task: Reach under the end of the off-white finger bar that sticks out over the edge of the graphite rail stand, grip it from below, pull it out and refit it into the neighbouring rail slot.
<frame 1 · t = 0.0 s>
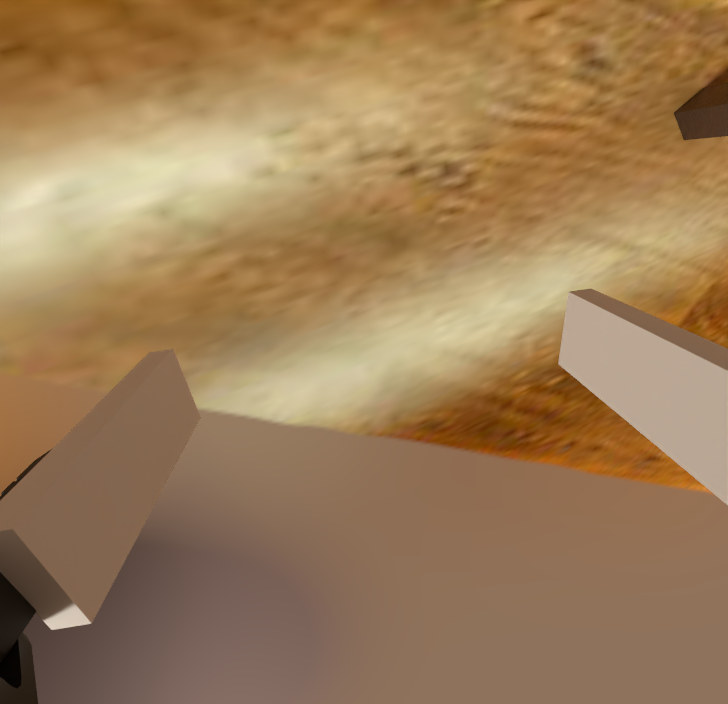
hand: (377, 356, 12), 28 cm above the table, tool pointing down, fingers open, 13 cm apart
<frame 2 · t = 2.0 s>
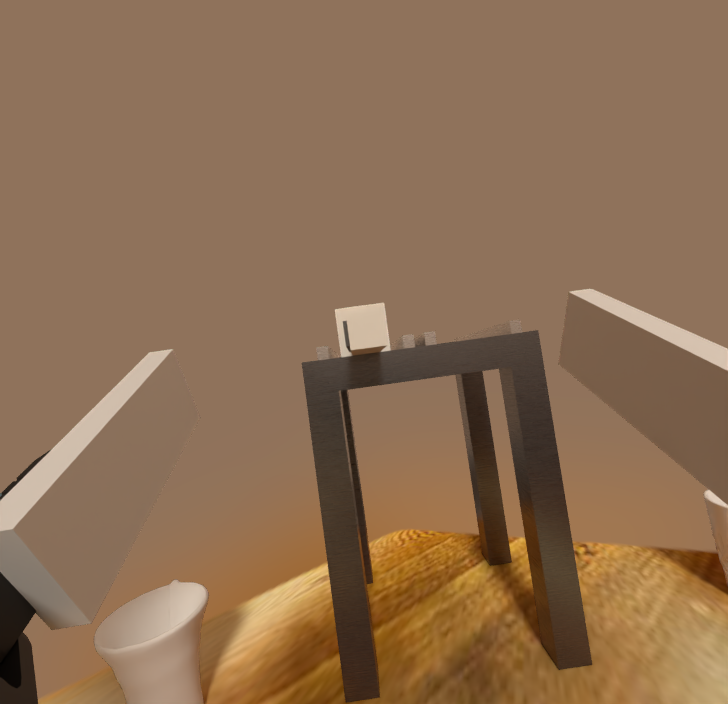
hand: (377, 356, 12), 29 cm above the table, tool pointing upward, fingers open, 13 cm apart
rail stand: (443, 608, 42), on the table
finger bar: (366, 355, 36), point 30 cm above the table, touching rail stand
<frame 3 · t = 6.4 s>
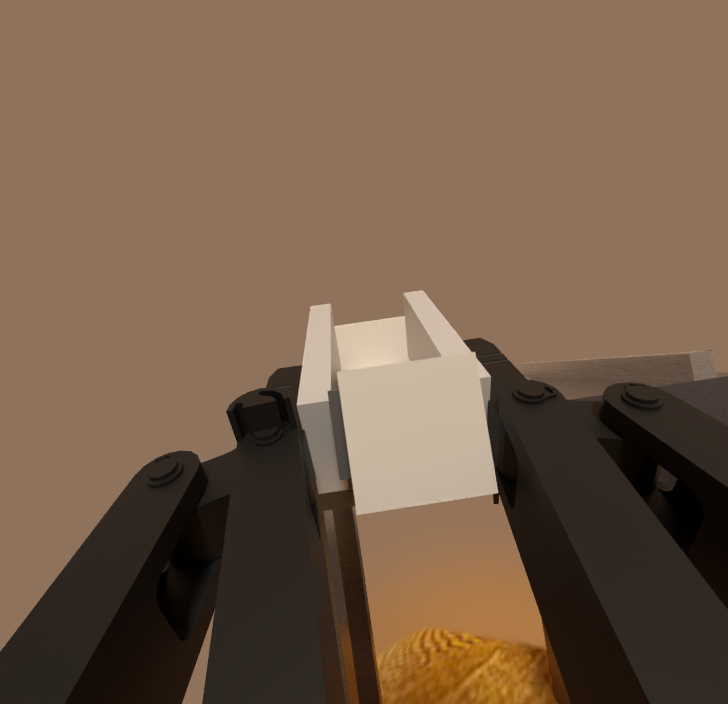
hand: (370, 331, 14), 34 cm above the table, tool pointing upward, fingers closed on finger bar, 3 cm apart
finger bar: (382, 418, 18), point 30 cm above the table, touching gripper, rail stand
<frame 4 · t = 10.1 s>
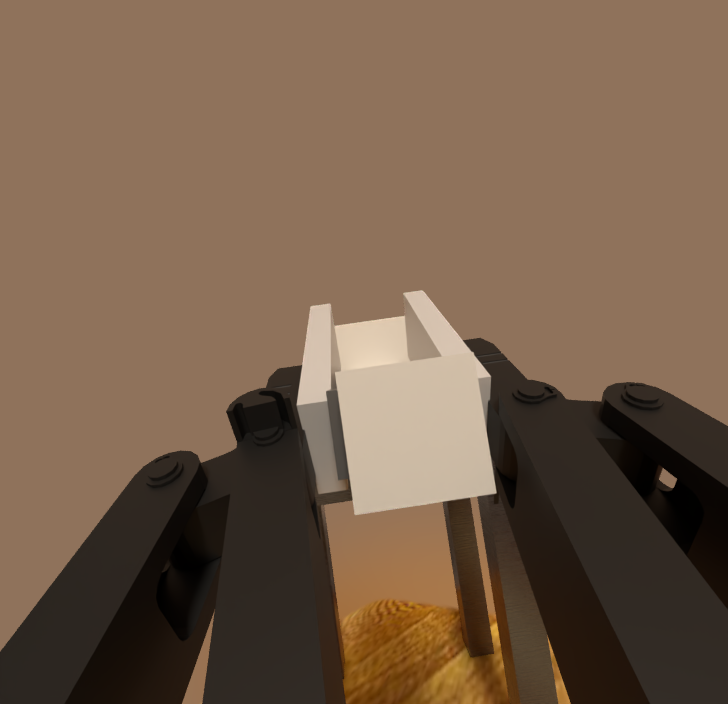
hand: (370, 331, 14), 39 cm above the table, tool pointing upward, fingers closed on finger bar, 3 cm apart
finger bar: (382, 418, 18), point 35 cm above the table, touching gripper
when the fingers open (35 cm above the table, at t = 14.2 s): finger bar drops 1 cm, resting on rail stand.
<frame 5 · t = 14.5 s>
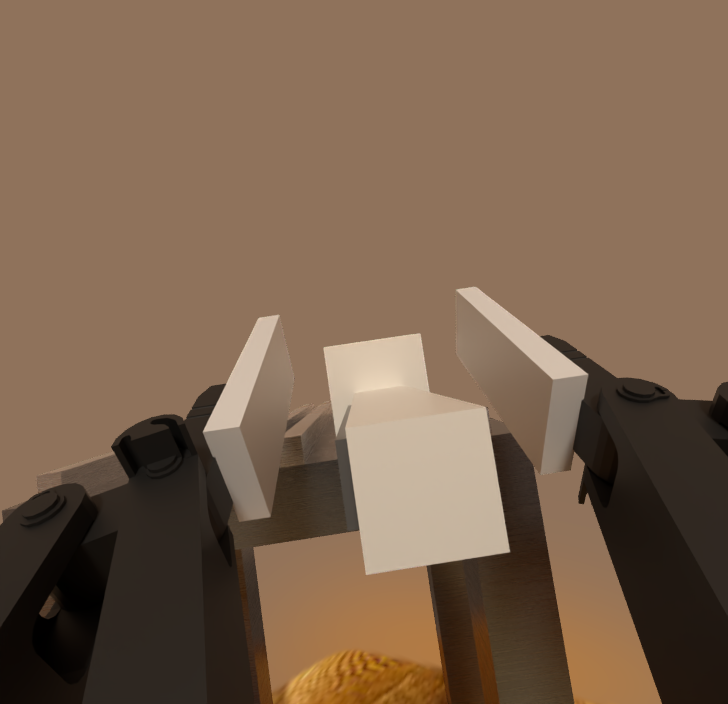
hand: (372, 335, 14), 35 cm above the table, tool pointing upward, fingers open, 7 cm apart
finger bar: (386, 438, 18), point 30 cm above the table, touching rail stand
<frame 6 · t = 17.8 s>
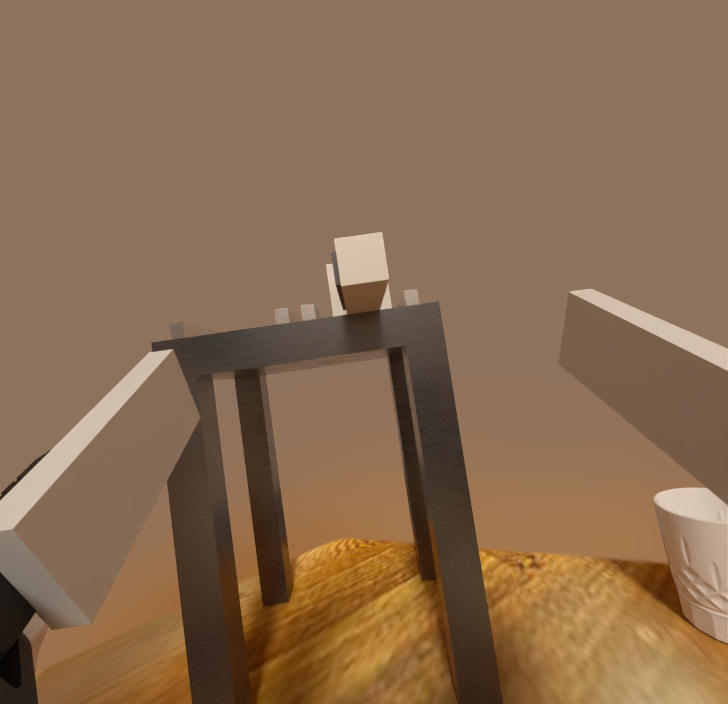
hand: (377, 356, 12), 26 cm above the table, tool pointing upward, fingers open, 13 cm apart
rail stand: (354, 634, 36), on the table
finger bar: (363, 318, 31), point 30 cm above the table, touching rail stand
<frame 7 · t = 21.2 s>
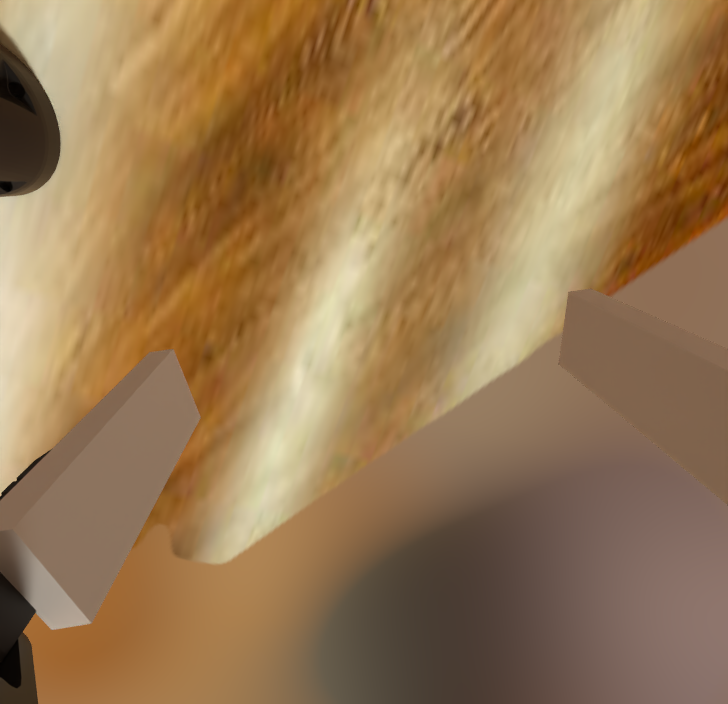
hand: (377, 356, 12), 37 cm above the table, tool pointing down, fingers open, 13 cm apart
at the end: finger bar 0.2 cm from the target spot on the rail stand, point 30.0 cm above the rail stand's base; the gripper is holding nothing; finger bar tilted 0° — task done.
